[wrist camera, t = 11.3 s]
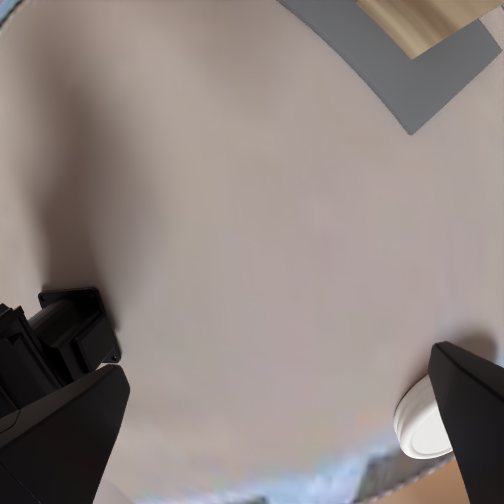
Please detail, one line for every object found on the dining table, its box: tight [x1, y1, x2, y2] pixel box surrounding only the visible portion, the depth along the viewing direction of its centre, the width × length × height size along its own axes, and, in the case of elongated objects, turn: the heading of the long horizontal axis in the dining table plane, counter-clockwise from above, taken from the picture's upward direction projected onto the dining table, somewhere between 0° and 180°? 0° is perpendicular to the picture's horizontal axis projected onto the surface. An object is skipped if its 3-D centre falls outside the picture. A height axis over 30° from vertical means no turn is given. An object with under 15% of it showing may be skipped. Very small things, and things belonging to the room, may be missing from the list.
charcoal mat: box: [277, 0, 502, 135], centre depth 14 cm, size 12×12×1 cm
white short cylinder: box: [394, 374, 453, 459], centre depth 21 cm, size 10×10×4 cm
